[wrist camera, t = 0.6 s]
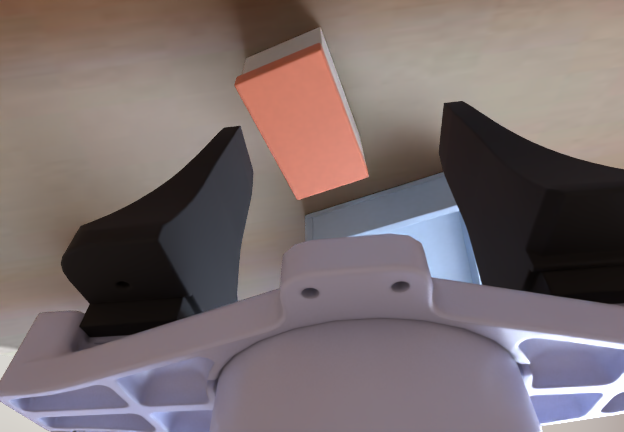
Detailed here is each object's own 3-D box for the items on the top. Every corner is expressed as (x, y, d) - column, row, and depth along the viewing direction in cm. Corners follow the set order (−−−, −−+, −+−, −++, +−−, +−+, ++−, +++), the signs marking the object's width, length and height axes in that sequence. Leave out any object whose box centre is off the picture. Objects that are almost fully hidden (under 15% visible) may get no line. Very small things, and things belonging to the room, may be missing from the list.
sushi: (297, 161, 27) (297, 200, 24) (243, 52, 22) (233, 85, 19) (361, 138, 26) (369, 177, 22) (318, 20, 21) (321, 48, 18)
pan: (369, 333, 40) (374, 365, 38) (304, 215, 30) (304, 249, 27) (483, 307, 38) (497, 340, 35) (457, 167, 27) (473, 199, 25)
